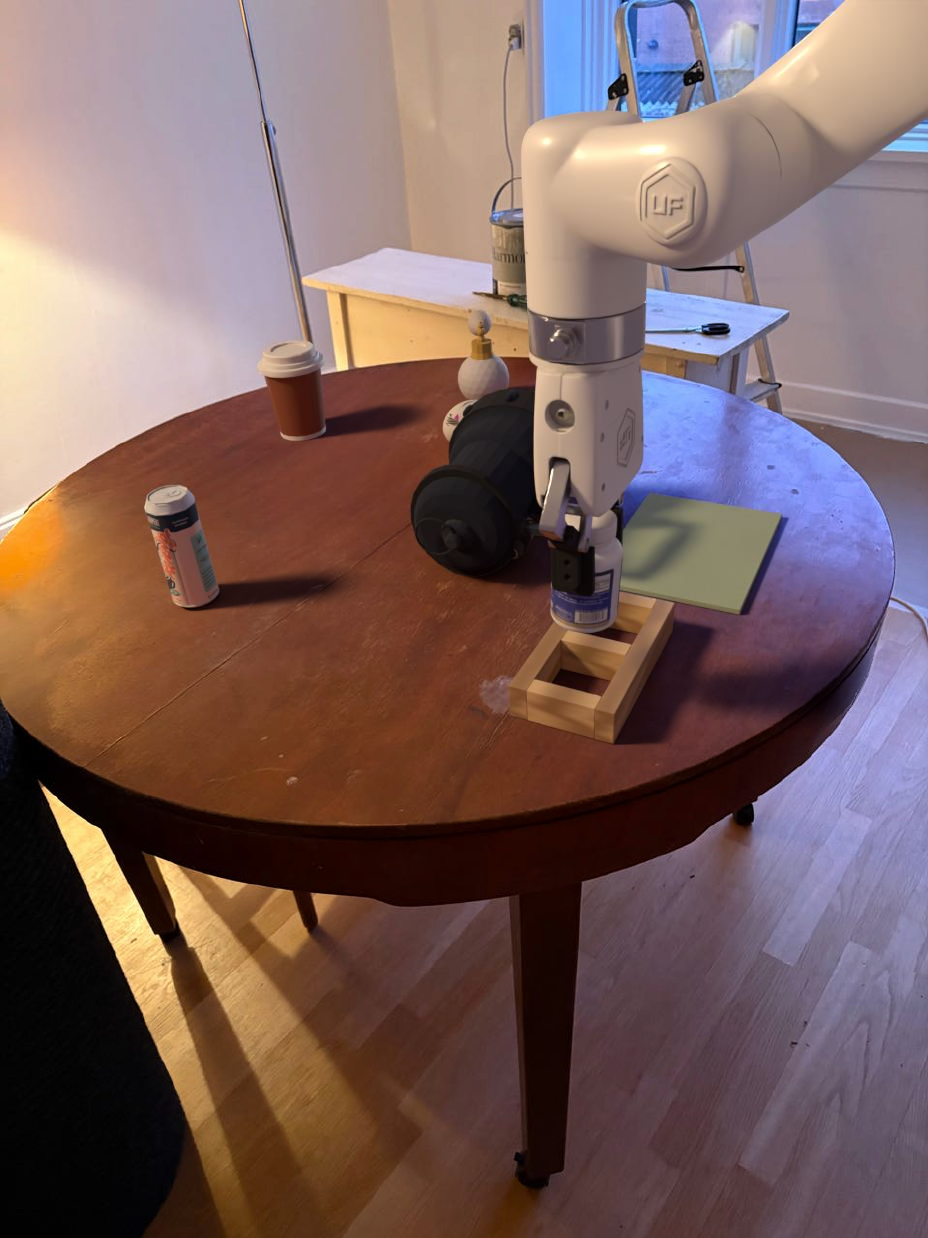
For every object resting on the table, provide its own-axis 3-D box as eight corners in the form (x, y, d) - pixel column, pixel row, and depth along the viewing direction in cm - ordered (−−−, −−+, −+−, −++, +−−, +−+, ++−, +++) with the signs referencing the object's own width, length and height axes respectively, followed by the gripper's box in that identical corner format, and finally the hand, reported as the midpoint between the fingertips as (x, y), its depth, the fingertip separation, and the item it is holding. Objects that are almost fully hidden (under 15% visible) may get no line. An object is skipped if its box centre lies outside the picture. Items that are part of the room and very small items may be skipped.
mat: (781, 518, 97) (782, 513, 97) (739, 615, 83) (740, 609, 83) (648, 497, 104) (648, 492, 103) (588, 583, 89) (588, 578, 89)
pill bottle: (567, 589, 73) (573, 493, 68) (627, 607, 71) (637, 509, 66) (538, 622, 69) (541, 523, 64) (600, 643, 67) (609, 542, 62)
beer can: (172, 591, 93) (141, 488, 86) (218, 581, 94) (191, 479, 87) (174, 615, 90) (141, 509, 83) (222, 604, 90) (193, 499, 84)
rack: (672, 631, 82) (675, 602, 80) (613, 744, 70) (614, 713, 68) (580, 611, 85) (580, 583, 84) (509, 715, 74) (508, 685, 72)
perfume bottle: (472, 414, 128) (467, 330, 121) (445, 394, 135) (438, 314, 128) (519, 403, 130) (516, 320, 123) (489, 383, 137) (485, 304, 130)
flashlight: (466, 491, 107) (631, 507, 101) (399, 595, 92) (588, 621, 86) (453, 377, 98) (633, 386, 92) (376, 471, 83) (585, 490, 77)
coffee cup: (341, 418, 130) (328, 336, 123) (327, 444, 122) (312, 358, 115) (281, 419, 131) (265, 338, 124) (263, 445, 123) (245, 360, 117)
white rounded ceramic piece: (464, 466, 113) (460, 417, 110) (434, 453, 117) (430, 405, 114) (510, 447, 117) (508, 398, 114) (480, 435, 121) (477, 387, 118)
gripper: (595, 381, 50) (595, 643, 60) (680, 298, 62) (668, 527, 72) (476, 371, 53) (495, 621, 63) (579, 293, 65) (581, 513, 75)
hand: (587, 569), depth 68 cm, fingers closed on pill bottle, 5 cm apart
